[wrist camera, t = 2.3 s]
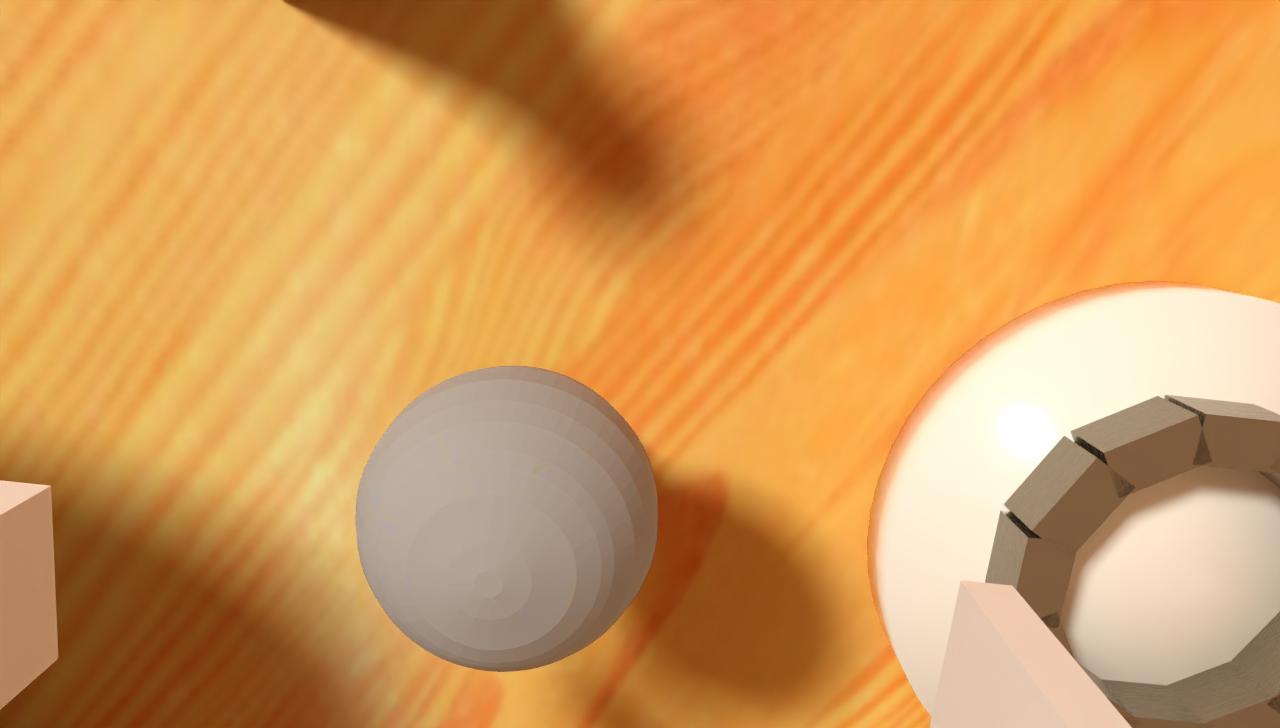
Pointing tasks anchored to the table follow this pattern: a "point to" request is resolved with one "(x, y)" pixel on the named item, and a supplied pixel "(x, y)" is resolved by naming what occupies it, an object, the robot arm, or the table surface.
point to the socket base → (1135, 531)
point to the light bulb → (507, 518)
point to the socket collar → (1087, 495)
